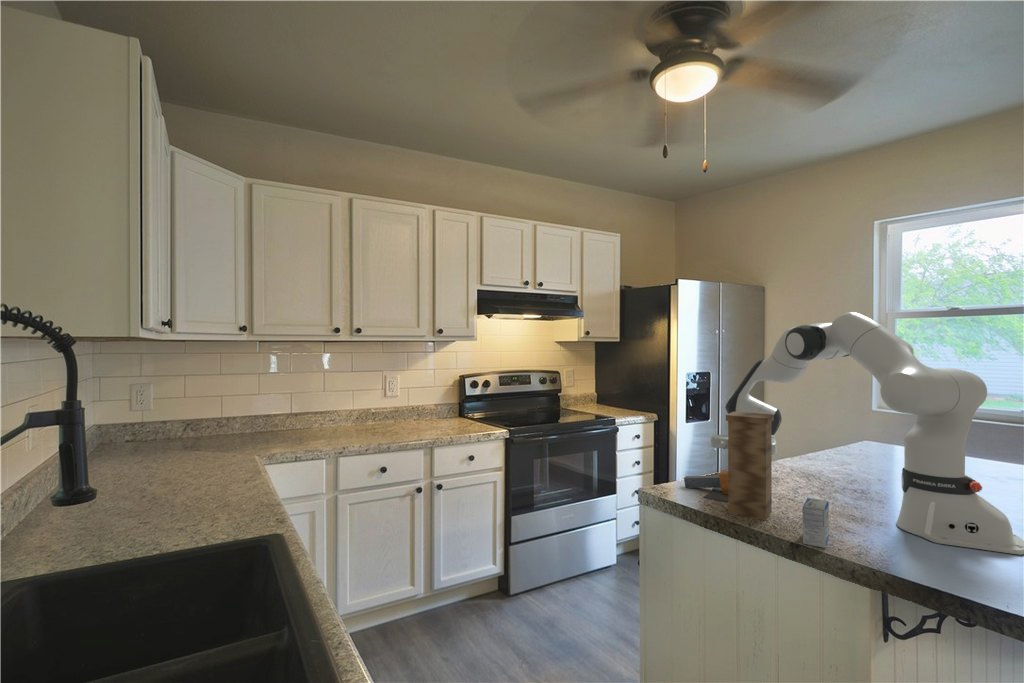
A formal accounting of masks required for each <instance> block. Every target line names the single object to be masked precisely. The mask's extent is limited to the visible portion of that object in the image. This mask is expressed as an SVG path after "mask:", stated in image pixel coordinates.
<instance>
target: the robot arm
mask: <svg viewBox="0 0 1024 683" xmlns="http://www.w3.org/2000/svg"><path fill="white" fill-rule="evenodd" d="M914 354H915V352H914V347H913V346H912V345H911V344H910V343H909V342H907V341H906V340H904V339H902V338H901V337H900V336H899V335H897V334H896V333H894V332H893V331H891V330H890V329H889V328H887V327H885V326H884V325H883V324H882V323H881V324H880V322H878V321H876V320H874V319H872V318H870V317H868V316H866V315H864V314H862V313H860V312H855V311H849V312H848V311H847V312H845V313H842V314H840V315H838V316H837V317H836V318H835V319H834V320H833V321H832V322H816V323H811V324H802V325H798V326H791V327H789V328H787V329H785V331H784V332H782V335H781V336H780V337H779V339H778V340H777V342H776V344H775V346H774V347H773V350H772V352H771V354H770V356H769V357H767V358H766V359H759V360H758V361H757V362H755V364H754V365H752V367H751V369H749V371H748V372H747V373H746V375H745V377H744V378H743V380H742V381H741V383H740V384H739V385H738V386H737V388H736V389H735V391H734V392H733V393H732V394H731V395H729V397H728V399H727V400H726V402H725V406H724V408H725V410H726V413H727V414H729V413H732V412H747V413H760V414H773V415H774V420H773V421H772V422H771V444H772V456H776V455H777V450H778V449H777V440H776V437H775V434H776V433H777V432H778V429H779V428H780V425H781V423H782V419H783V418H782V415H781V411H780V409H779V408H777V407H774V405H771V404H769V403H767V402H764V401H762V400H760V399H758V398H756V397H754V396H752V395H751V394H750V392H751V390H752V389H753V388H754V386H755V385H756V383H759V382H773V383H778V384H786V383H792V382H795V381H797V380H800V378H801V377H802V376H803V374H804V373H805V372H806V370H807V368H808V367H809V364H810V362H811V361H814V360H815V361H817V360H819V361H820V360H833V359H838V358H841V357H843V358H844V357H851V358H852V359H853V360H855V361H856V362H857V363H858V364H859V365H861V366H862V367H863V368H864V369H865V370H867V371H868V372H869V373H870V374H871V375H872V376H873V377H874V379H876V380H877V381H878V383H879V385H880V397H881V399H882V402H884V404H885V405H886V406H887V407H888V408H889V409H891V410H892V411H894V412H898V413H902V414H907V415H911V416H917V417H916V419H915V422H914V424H913V426H912V427H911V429H910V430H909V431H907V433H906V434H905V436H904V442H903V444H904V446H903V447H904V448H903V449H904V450H903V452H904V453H903V454H904V456H903V457H904V460H903V461H904V465H903V466H904V467H902V469H901V489H902V492H903V494H902V501H901V507H900V509H899V514H898V517H897V520H896V523H895V524H896V526H897V527H898V528H899V529H901V530H903V531H906V532H908V533H910V534H913V535H915V536H918V537H921V538H924V539H926V540H928V541H930V542H933V543H936V544H941V545H947V546H949V545H950V546H955V547H962V548H970V549H976V550H977V549H978V550H985V551H990V552H991V551H993V552H999V553H1005V554H1010V555H1011V554H1013V555H1024V539H1023V538H1022V537H1020V536H1018V535H1016V534H1014V533H1013V528H1012V524H1011V521H1010V520H1009V518H1008V516H1007V515H1006V514H1005V513H1004V512H1003V511H1002V510H1000V509H999V508H997V507H996V506H994V505H993V504H992V503H990V502H989V501H987V500H986V499H985V498H984V497H982V496H980V495H979V494H978V493H980V492H981V491H982V490H983V486H982V484H981V483H980V482H978V481H976V479H973V478H972V477H971V476H968V475H967V474H966V444H967V439H968V434H969V431H970V427H971V425H972V422H973V419H974V416H975V414H976V413H977V411H978V409H980V407H981V406H982V405H983V403H984V402H985V401H986V399H987V396H988V387H987V385H986V383H985V382H984V380H983V378H981V377H980V376H979V375H977V374H975V373H972V372H969V371H966V370H962V369H959V368H949V367H947V368H933V367H930V366H927V365H925V364H923V363H922V362H920V360H918V358H917V357H916V356H915V355H914ZM710 447H712V448H715V449H716V448H717V449H721V450H728V434H716V435H713V436H711V438H710Z"/></svg>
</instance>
